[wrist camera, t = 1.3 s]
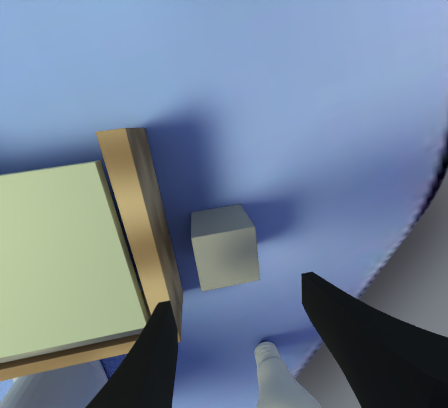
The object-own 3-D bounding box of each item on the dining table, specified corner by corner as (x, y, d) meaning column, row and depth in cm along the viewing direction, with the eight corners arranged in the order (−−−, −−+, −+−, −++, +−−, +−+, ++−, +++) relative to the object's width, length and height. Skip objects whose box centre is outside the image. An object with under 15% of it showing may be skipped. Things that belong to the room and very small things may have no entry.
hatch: (151, 324, 17) (149, 334, 16) (-38, 364, 16) (-51, 377, 15) (100, 160, 13) (94, 162, 12) (-159, 197, 12) (-185, 202, 11)
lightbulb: (299, 335, 26) (369, 469, 16) (266, 370, 27) (313, 517, 17) (258, 315, 24) (308, 452, 14) (226, 353, 26) (249, 506, 15)
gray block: (245, 247, 22) (260, 279, 17) (199, 255, 21) (201, 291, 17) (240, 203, 20) (255, 226, 16) (191, 212, 20) (191, 238, 15)
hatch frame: (183, 292, 22) (180, 341, 17) (-6, 329, 21) (-72, 396, 16) (144, 128, 17) (125, 128, 12) (-108, 162, 16) (-256, 179, 10)
